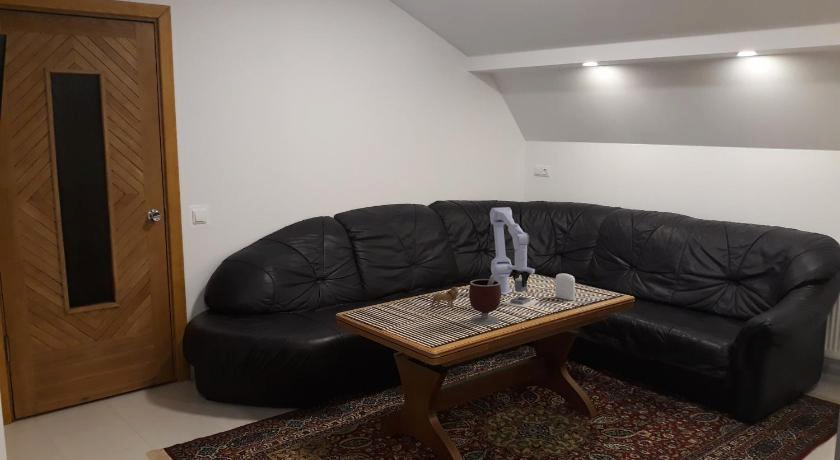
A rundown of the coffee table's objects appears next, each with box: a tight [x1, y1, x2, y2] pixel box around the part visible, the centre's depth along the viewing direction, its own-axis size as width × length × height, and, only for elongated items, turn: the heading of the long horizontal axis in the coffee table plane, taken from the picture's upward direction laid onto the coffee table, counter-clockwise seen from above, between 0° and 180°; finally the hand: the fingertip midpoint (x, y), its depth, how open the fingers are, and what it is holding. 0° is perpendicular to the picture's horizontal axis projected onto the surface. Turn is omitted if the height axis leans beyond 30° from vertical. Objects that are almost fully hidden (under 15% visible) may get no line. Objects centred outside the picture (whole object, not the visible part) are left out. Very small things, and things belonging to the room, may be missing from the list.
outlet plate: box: [500, 296, 540, 309], centre depth 311 cm, size 13×14×2 cm
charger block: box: [514, 276, 528, 293], centre depth 311 cm, size 4×5×6 cm
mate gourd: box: [468, 273, 502, 326], centre depth 281 cm, size 16×14×20 cm
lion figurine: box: [429, 286, 460, 309], centre depth 306 cm, size 15×5×9 cm, turn 113°
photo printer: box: [555, 273, 576, 301], centre depth 318 cm, size 10×4×12 cm, turn 39°
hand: (520, 286), depth 310 cm, fingers closed on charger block, 3 cm apart
